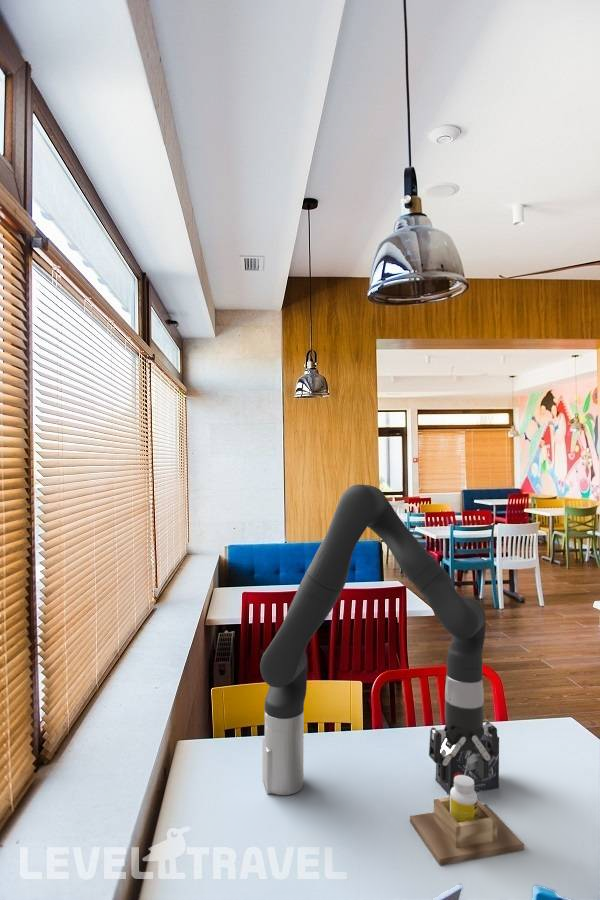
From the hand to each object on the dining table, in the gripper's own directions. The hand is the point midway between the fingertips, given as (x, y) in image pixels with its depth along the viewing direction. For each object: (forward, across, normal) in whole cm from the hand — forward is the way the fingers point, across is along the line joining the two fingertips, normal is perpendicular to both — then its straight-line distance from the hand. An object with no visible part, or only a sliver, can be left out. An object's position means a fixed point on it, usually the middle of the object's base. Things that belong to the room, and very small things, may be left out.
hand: (463, 779), depth 112 cm
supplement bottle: (+10, 0, 0) cm, 10 cm away
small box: (+12, +10, +16) cm, 22 cm away
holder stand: (+11, 0, 0) cm, 11 cm away
